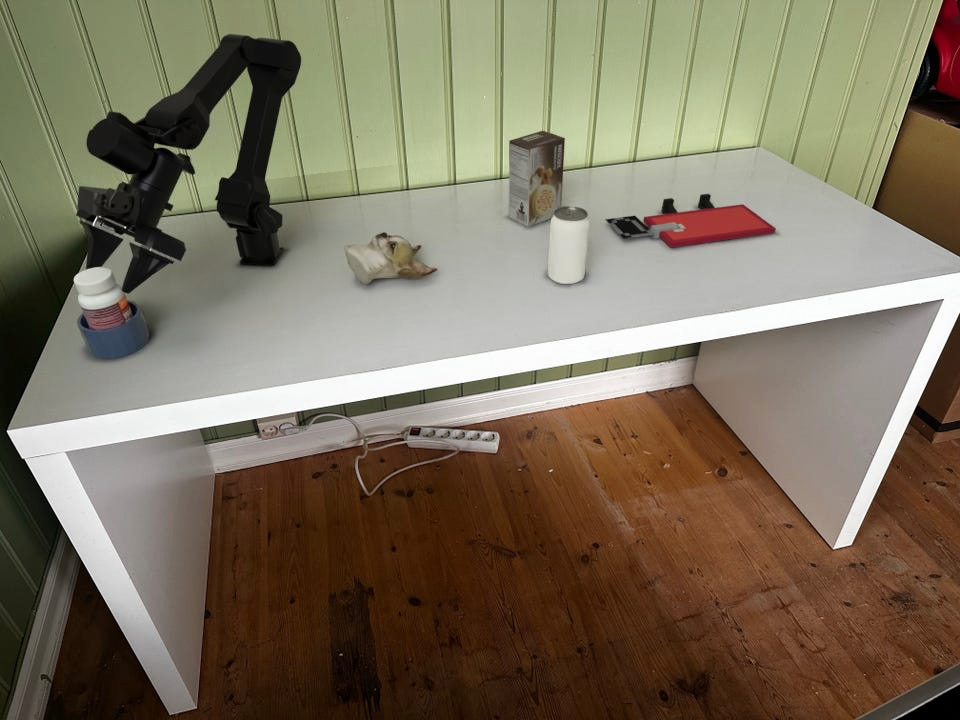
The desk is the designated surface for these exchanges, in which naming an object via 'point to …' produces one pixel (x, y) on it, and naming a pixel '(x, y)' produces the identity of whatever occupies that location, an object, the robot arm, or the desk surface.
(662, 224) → the red board with handle
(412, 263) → the ceramic sculpture
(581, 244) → the can
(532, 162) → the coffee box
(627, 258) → the desk surface
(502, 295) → the desk surface
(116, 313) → the pill bottle
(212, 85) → the robot arm
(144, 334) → the cup
